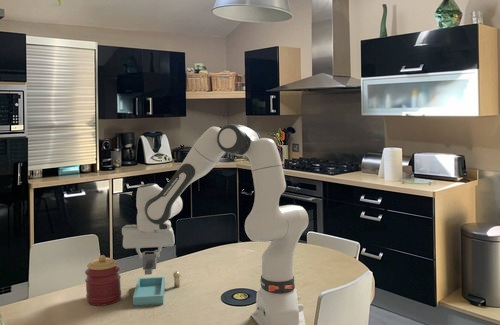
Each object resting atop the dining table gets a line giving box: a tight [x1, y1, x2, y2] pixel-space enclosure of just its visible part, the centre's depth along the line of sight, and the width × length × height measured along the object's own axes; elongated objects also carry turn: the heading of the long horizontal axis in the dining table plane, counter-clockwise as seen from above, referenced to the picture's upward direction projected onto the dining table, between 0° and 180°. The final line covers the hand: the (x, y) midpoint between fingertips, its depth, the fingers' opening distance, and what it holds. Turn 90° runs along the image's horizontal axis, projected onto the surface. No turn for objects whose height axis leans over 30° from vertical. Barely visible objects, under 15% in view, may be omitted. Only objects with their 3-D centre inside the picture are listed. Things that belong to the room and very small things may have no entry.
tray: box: [132, 276, 166, 308], centre depth 181 cm, size 20×11×4 cm, turn 8°
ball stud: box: [172, 270, 181, 289], centre depth 189 cm, size 3×3×7 cm
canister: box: [84, 254, 122, 306], centre depth 176 cm, size 13×13×18 cm
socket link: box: [142, 250, 158, 276], centre depth 180 cm, size 11×5×6 cm, turn 8°
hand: (149, 257), depth 182 cm, fingers closed on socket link, 5 cm apart
